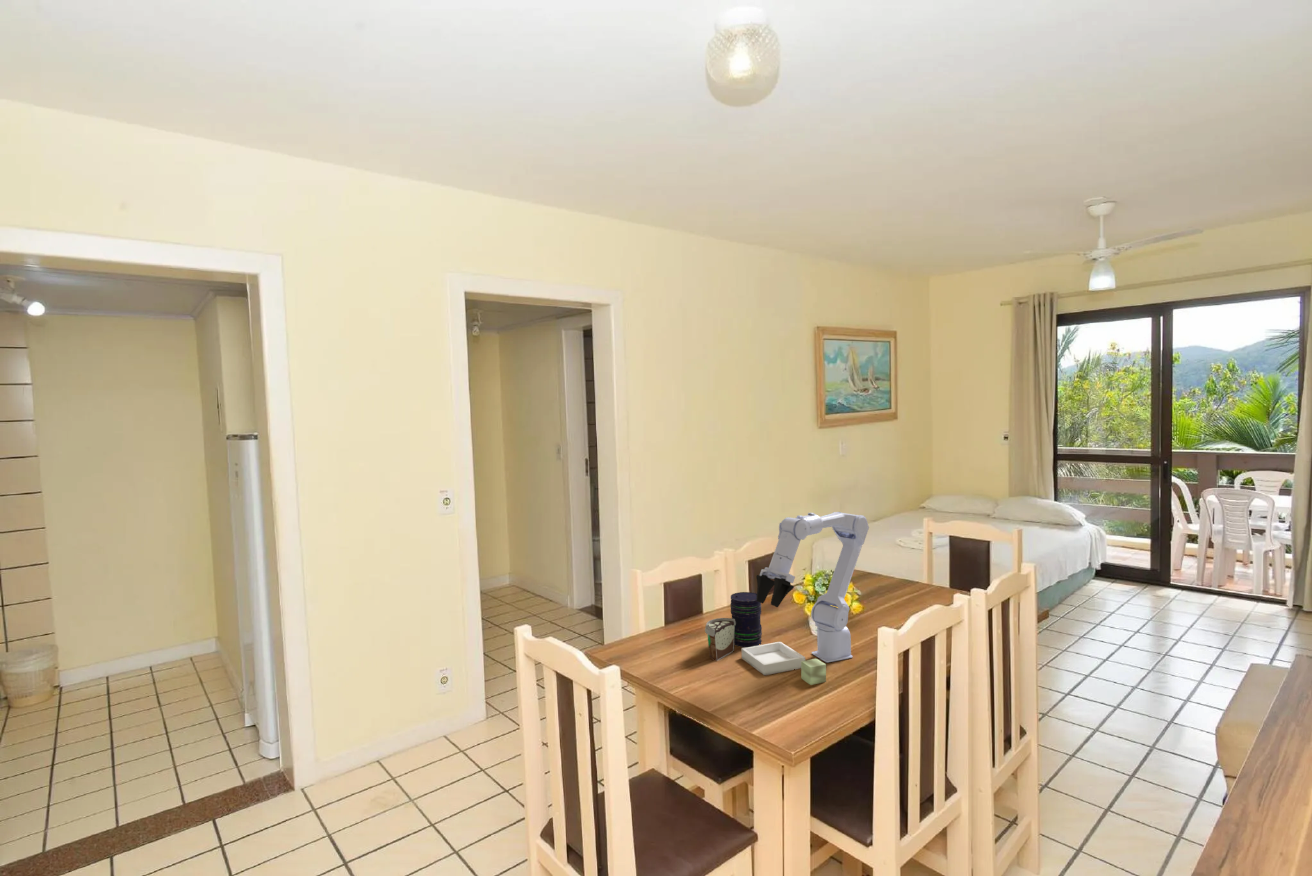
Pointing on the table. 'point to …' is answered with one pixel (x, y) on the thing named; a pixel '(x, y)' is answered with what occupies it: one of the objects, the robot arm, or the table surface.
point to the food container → (720, 637)
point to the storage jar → (746, 619)
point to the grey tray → (772, 658)
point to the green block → (813, 671)
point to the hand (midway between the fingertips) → (766, 604)
